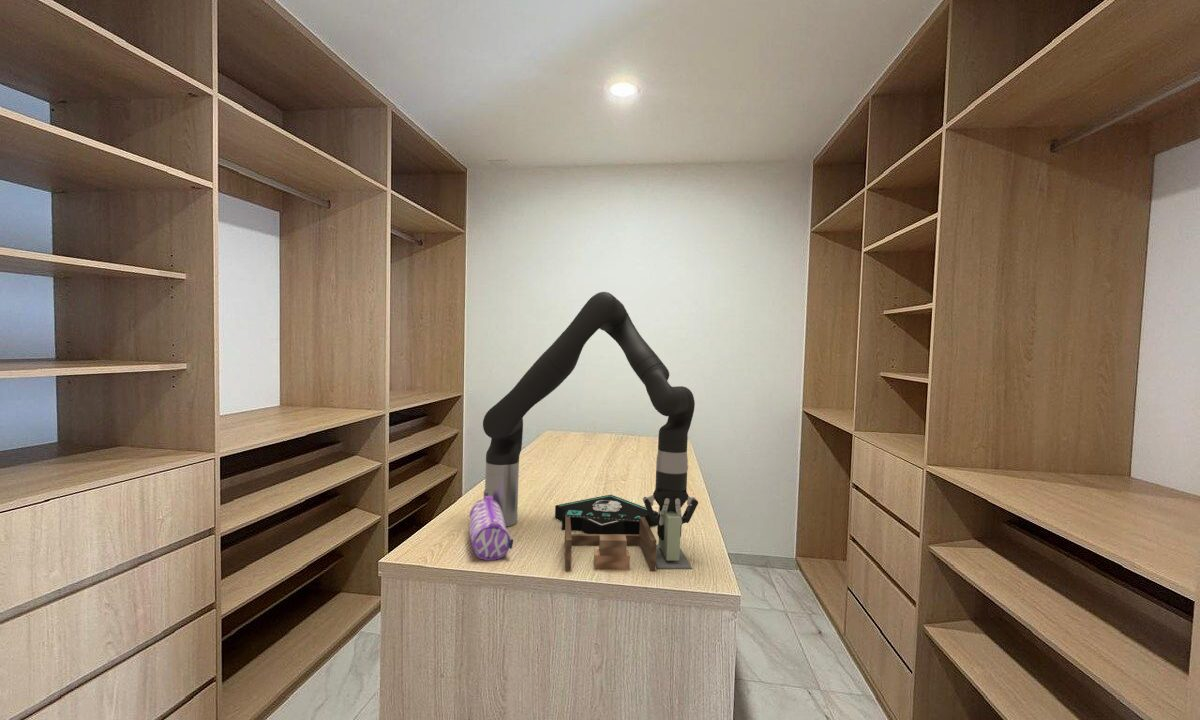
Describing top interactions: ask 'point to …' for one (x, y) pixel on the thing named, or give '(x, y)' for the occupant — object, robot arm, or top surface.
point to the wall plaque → (604, 515)
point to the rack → (642, 539)
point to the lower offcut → (611, 561)
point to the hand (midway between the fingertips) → (668, 538)
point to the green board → (671, 536)
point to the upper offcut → (612, 545)
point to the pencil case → (488, 530)
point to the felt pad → (671, 561)
